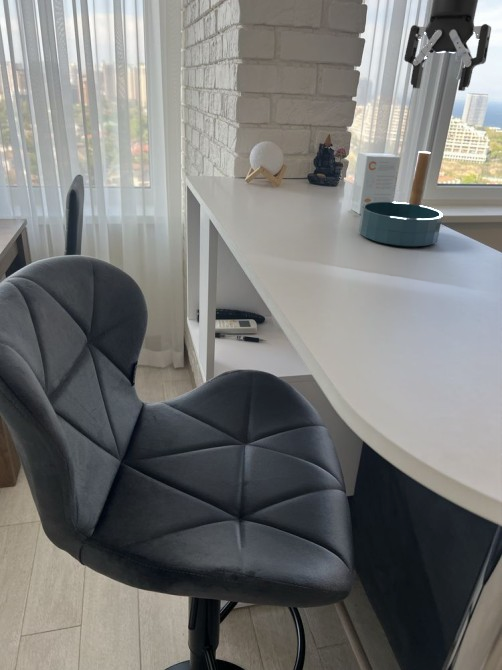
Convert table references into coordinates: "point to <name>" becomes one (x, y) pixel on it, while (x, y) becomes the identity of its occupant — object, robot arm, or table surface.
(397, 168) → the small box
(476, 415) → the table surface
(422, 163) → the wooden stick
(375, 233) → the bowl
